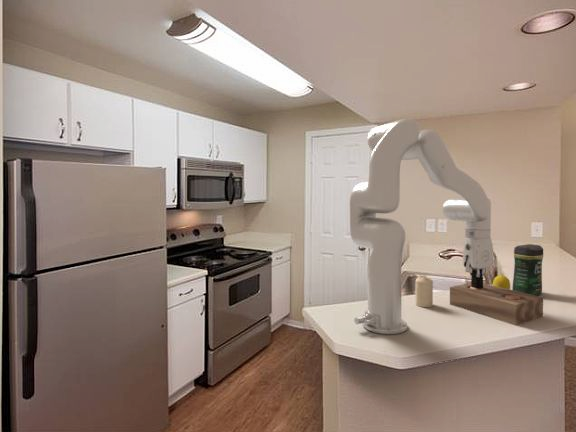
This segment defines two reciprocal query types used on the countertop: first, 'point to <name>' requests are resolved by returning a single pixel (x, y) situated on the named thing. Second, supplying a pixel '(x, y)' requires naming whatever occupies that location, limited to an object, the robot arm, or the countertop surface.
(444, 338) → the countertop surface
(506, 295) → the peg near
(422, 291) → the candle
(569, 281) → the countertop surface
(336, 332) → the countertop surface
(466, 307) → the block
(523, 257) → the coffee jar
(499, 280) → the lemon
